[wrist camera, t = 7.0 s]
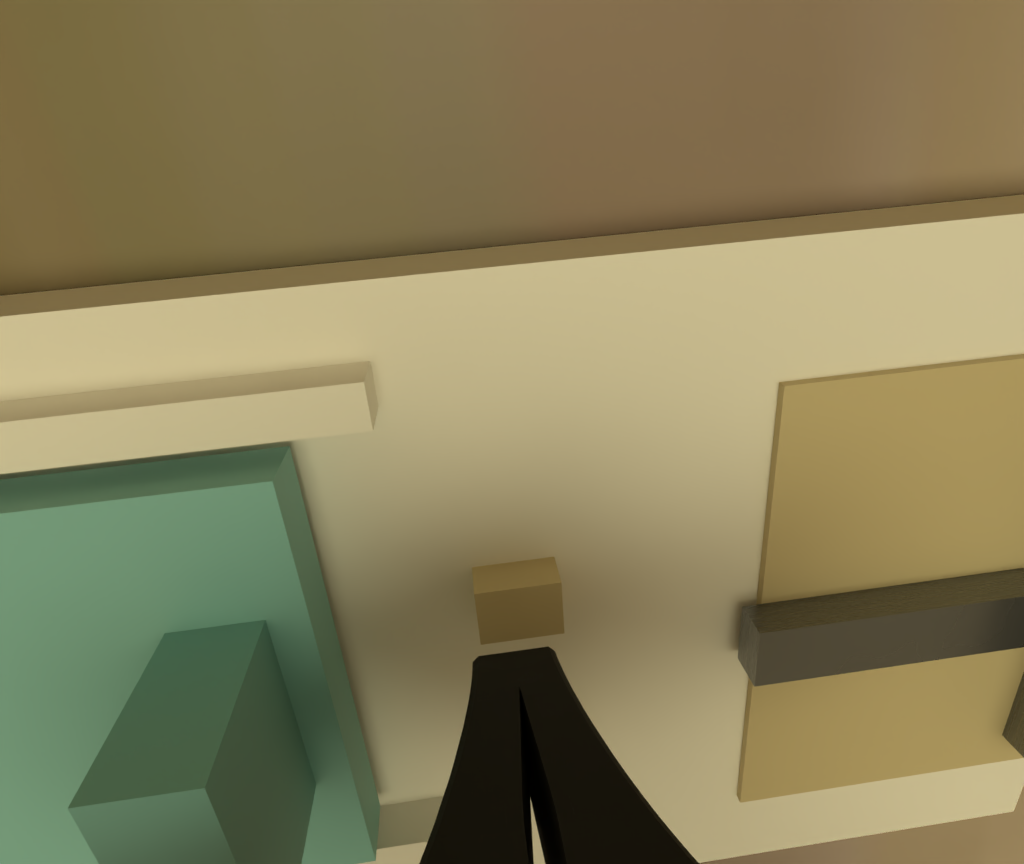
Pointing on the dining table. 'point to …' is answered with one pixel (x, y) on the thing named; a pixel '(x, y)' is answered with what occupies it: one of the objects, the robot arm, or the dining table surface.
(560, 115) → the dining table surface
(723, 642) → the board
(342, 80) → the dining table surface
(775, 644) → the t key
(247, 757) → the cover
